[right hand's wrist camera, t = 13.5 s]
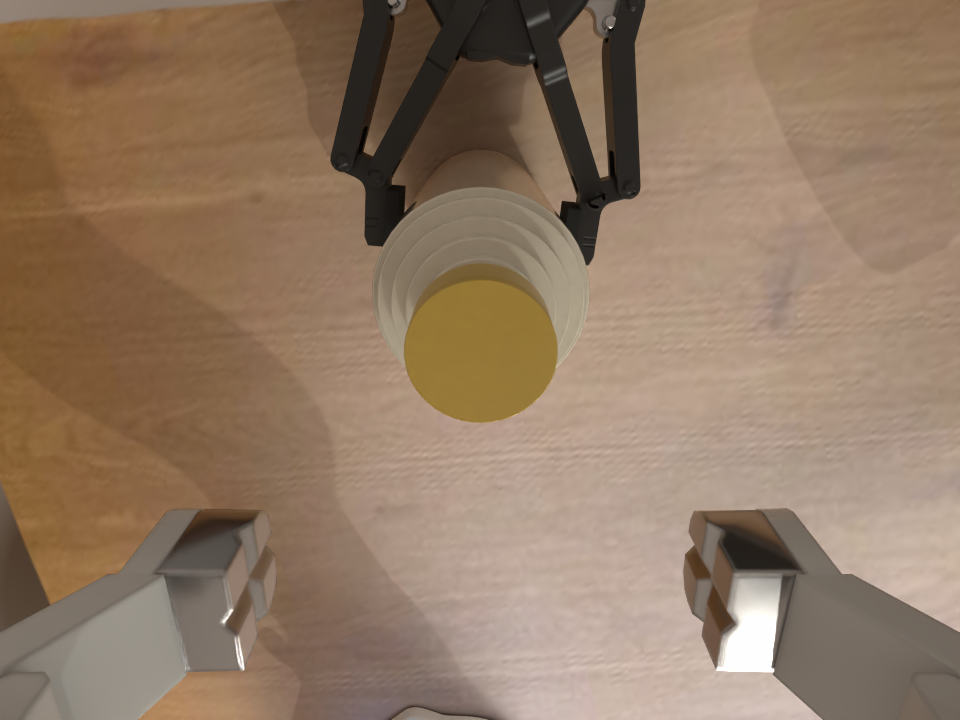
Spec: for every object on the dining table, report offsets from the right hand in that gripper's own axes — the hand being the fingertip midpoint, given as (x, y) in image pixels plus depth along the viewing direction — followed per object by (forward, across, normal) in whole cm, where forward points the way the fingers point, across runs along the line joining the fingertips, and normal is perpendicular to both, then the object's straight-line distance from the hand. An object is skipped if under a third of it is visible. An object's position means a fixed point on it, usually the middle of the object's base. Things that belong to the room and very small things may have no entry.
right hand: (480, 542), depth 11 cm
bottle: (+34, 0, 0) cm, 34 cm away
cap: (+9, 0, 0) cm, 9 cm away
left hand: (+27, 0, -4) cm, 28 cm away
